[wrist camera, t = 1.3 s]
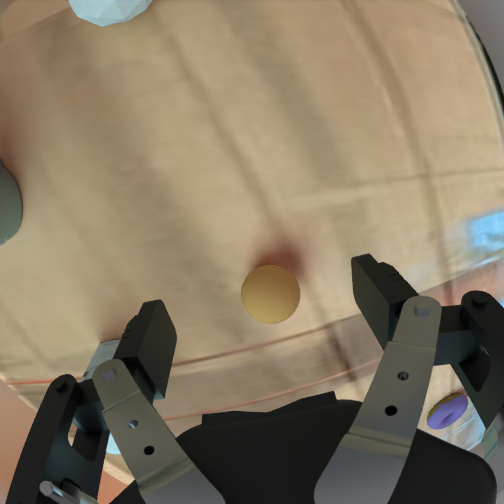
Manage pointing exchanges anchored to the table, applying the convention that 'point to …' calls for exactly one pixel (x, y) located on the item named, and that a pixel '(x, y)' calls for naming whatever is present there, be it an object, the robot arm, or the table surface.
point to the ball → (270, 294)
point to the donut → (447, 411)
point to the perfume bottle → (108, 10)
